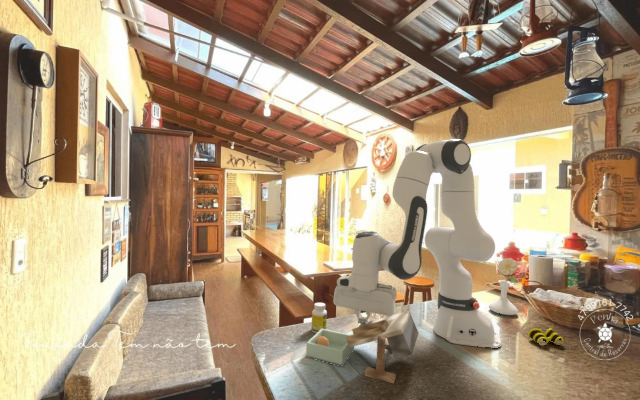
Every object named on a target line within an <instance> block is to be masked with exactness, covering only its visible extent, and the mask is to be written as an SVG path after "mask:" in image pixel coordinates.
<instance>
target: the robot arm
mask: <svg viewBox="0 0 640 400" xmlns="http://www.w3.org/2000/svg"><path fill="white" fill-rule="evenodd" d="M471 158H472V151H471V148H470V146H469V144H468V143H467V142H466V141H465V140H462V139H459V138H458V139H457V138H451V139H442V140H437V141H434V142H430V143H425V144H424V143H423V144H422V145H419V146H418V147H416V149H414V150H412V151H409V152H407V153H406V155H405V156H404V158H403V159H402V161H401V164H400V166H399V169H398V170H397V173H396V177H395V179H394V183H393V187H392V194H391V195H392V198H393V200H394V202H395V203H396V205H398V206H399V207H400V208H401V210H402V211H403V213H404V216H405V222H404V226H403V232H402V237H401V241H400V243H397V242H393V241H391V240H389V239H386V238H385V237H383V236H382V235H380V234H379V233H378V232H376V231H372V230H371V231H370V230H369V231H362V232H359V233H357V234H356V235H355V236H354V239H353V245H352V253H351V254H352V255H351V259H352V268H351V273H348V274H344V275H341V276H340V277H339V278H337V280H336V284H337V285H336V287H335V288H334V292H333V303H334V305H335V306H336V307H341V308H346V309H351V310H354V313H355V315H356V318H357V324H365V325H367V324H368V322H369V318H370V317H371V315H372V314H377V315H382V316H386V317H388V316H392V315H393V314H396V299H397V295H398V294H397V289H396V288H395V287H393V285H389V284H384V283H379V278H380V277H379V275H380V271H381V270H384V271H386V272H387V273H390V274H392V275H393V276H394V277H396V278H398V279H399V280H403V281H405V280H406V281H407V280H411V279H412V278H414V277H415V276H417V274H419V271H420V270H421V267H422V258H423V257H422V247H423V240H424V244H425V247H426V249H427V250H428V251H429V252H430V253H431V254H432V256H433V257H434V260H435V262H436V266H437V268H438V273H439V274H438V275H439V287H438V288H439V291H438V294H437V299H436V301H437V302H436V305H437V312H436V314H437V315H436V318H435V323H434V325H433V328H432V330H433V332H434V333H435V334H436V335H438V336H439V337H442V338H444V339H445V340H447V341H448V342H449V343H452V344H455V345H463V346H471V347H477V346H478V347H479V348H485V347H491V348H490V349H492V348H498V347H500V345H501V346H502V340H501V337H500V335H499V334H497V332H495V328H494V324H493V322H492V321H491V319H490V318H489V317H488V316H487V315H486V314H485V313H483V312H482V311H481V310H479V309H480V303H479V302H478V300H477V298H476V297H473V277H472V274H471V272H470V271H468V270H467V269H466V268H465V267H464V266H463V264H462V262H461V260H464V261H469V262H477V263H479V262H482V263H483V262H488V261H489V260H490V259H491V258H493V256H494V254H495V251H496V243H495V240H494V239H493V237H492V236H491V235H490V234H489V233H488V231H486V230H485V229H484V228H483V227H482V225H481V223H480V222H479V220H478V217H477V214H476V202H475V178H474V172H473V168H472V167H473V166H472V165H471V163H470V162H471ZM438 173H439V174H440V176H441V179H442V180H441V195H440V196H441V199H440V200H441V204H440V205H441V212H442V214H443V216H445V217H447V218H448V219H449V220H450V222H452V225H453V227H449V226H435V227H430V228H429V229H428V230H427V231H426V233H425V228H426V223H427V218H428V217H427V216H428V203H427V193H428V188H429V185H430V181H431V176H432V174H438ZM424 235H425V236H424ZM361 312H365V314H366V316H362V315H361ZM500 348H501V347H500ZM498 349H499V348H498Z"/></svg>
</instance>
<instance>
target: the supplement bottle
mask: <svg viewBox="0 0 640 400" xmlns="http://www.w3.org/2000/svg"><path fill="white" fill-rule="evenodd" d="M313 305H314V306H313V307H314V308H313V310H312V311H311V328H310V329H311V332H312V333H314V334H316V333H317V332H319V331H320V330H321V329H327V317H328V312H327V310H326V303H324V302H315V303H314V304H313Z"/></svg>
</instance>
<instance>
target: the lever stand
mask: <svg viewBox="0 0 640 400" xmlns="http://www.w3.org/2000/svg"><path fill="white" fill-rule="evenodd" d="M395 314H396V313H394V314H393V315H395ZM376 344H377V345H376V364H375V365H376V367H375V368H374V367H369V366H367V367H366V369H365V371H364V376H365V377H369V378H372V379H376V380H379V381H384V382H387V383H391V384H395V380H396V378H397V377H396V375H397V374H396V373H392V372H389V371H385V368H386V367H385V361H386V348H387V349H390V350H391V348H390V345H389V343H388V340H387V338H386V337H381V336H378V338H377V340H376Z"/></svg>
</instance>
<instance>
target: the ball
mask: <svg viewBox="0 0 640 400" xmlns="http://www.w3.org/2000/svg"><path fill="white" fill-rule="evenodd" d="M316 344H319V345H323V346H327V347H328V345H329V341H328V339H327V338H326V337H324V336H321V337H319V338H318V339H317V341H316Z"/></svg>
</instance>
